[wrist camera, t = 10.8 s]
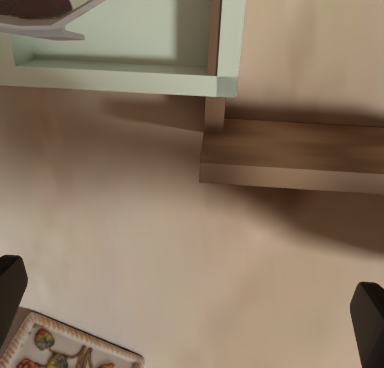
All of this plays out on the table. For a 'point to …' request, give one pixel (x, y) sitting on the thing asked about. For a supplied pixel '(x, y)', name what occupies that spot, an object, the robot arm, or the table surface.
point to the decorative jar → (62, 348)
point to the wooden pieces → (285, 146)
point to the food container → (43, 17)
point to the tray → (132, 50)
